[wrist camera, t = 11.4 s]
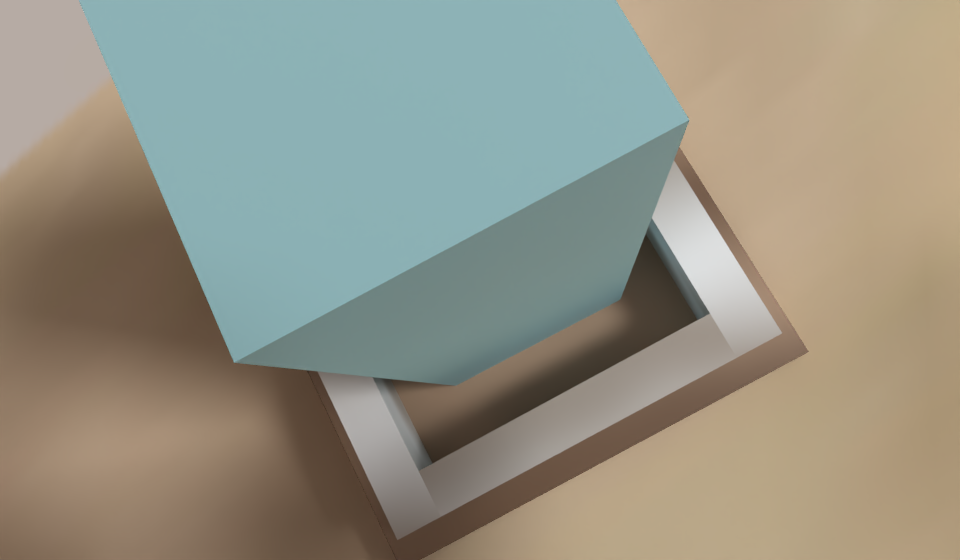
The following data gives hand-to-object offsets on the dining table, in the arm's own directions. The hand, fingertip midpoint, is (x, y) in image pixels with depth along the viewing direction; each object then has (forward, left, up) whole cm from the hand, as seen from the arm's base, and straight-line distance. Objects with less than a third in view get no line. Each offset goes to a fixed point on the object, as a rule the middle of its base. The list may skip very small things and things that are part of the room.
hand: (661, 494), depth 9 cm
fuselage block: (+5, +2, -10) cm, 12 cm away
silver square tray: (+5, +2, -11) cm, 12 cm away
